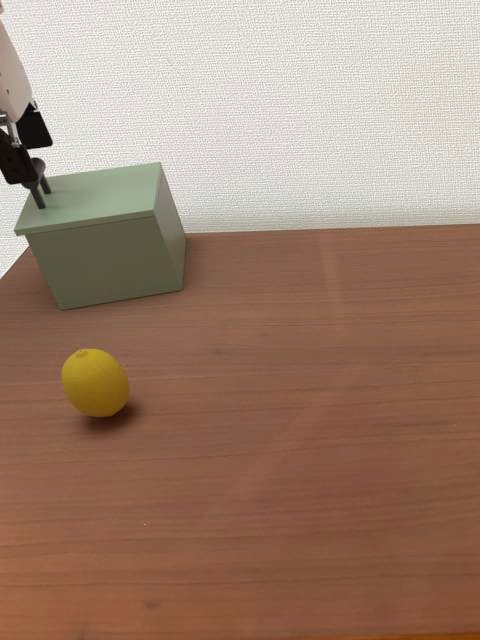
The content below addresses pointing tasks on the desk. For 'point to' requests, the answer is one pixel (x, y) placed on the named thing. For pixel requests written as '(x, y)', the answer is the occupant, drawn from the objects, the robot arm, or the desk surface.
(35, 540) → the desk surface
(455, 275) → the desk surface
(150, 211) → the lid
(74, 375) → the lemon
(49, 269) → the chest
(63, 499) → the desk surface
